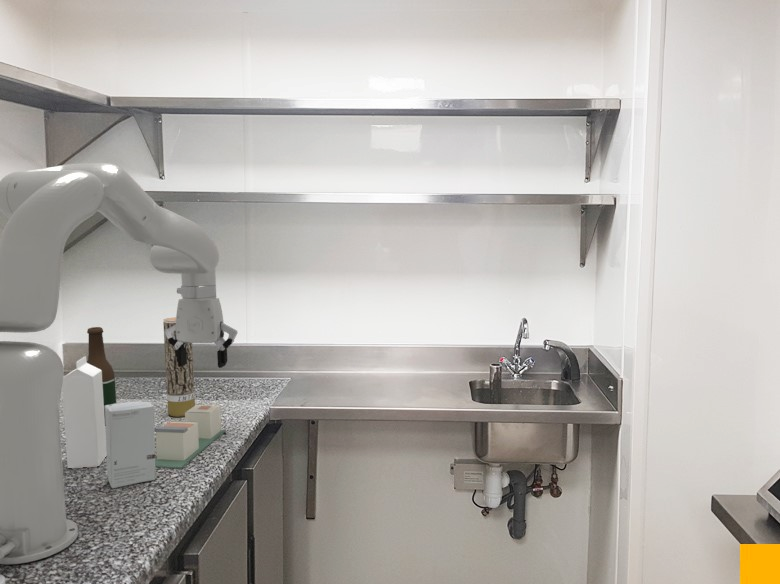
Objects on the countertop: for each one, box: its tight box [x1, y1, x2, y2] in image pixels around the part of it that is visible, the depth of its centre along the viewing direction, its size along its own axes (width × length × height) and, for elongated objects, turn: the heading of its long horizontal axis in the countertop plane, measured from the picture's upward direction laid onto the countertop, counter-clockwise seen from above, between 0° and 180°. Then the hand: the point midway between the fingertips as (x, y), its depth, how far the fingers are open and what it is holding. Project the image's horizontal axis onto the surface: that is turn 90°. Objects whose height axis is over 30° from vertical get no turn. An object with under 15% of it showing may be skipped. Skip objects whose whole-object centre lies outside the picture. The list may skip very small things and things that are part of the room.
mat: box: [155, 429, 226, 470], centre depth 138 cm, size 23×8×1 cm, turn 172°
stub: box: [184, 404, 222, 439], centre depth 145 cm, size 6×6×6 cm
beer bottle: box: [86, 326, 117, 425], centre depth 155 cm, size 8×8×24 cm
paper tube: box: [163, 316, 196, 418], centre depth 161 cm, size 7×7×25 cm
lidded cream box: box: [154, 420, 199, 461], centre depth 133 cm, size 7×7×7 cm
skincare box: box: [105, 400, 157, 489], centre depth 120 cm, size 8×6×15 cm
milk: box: [61, 355, 107, 469], centre depth 128 cm, size 6×6×22 cm
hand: (202, 366), depth 145 cm, fingers open, 9 cm apart
